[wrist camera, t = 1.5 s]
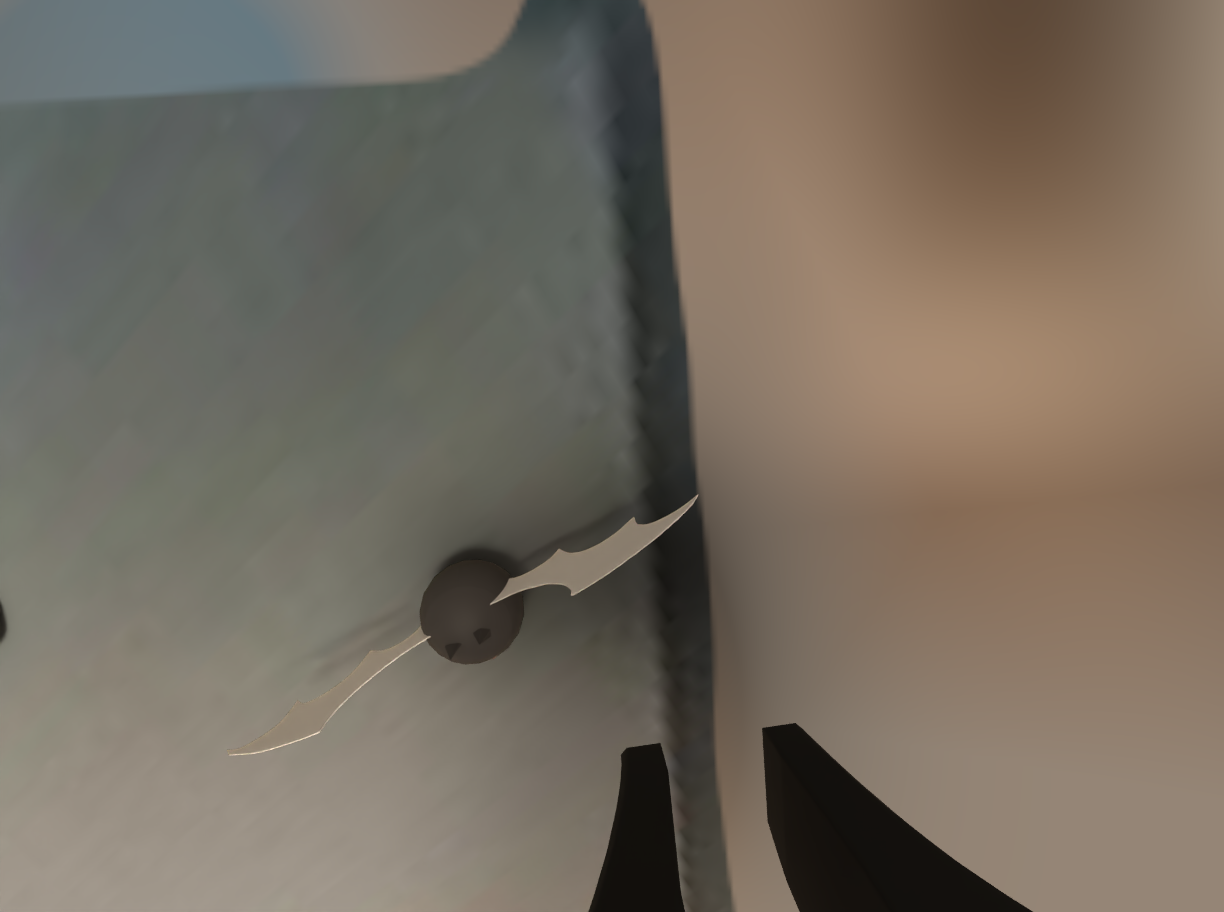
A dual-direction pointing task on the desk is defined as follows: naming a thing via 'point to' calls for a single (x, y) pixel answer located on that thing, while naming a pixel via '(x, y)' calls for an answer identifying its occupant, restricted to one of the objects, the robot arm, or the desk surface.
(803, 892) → the robot arm
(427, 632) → the bat toy
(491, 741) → the desk surface
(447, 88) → the desk surface
